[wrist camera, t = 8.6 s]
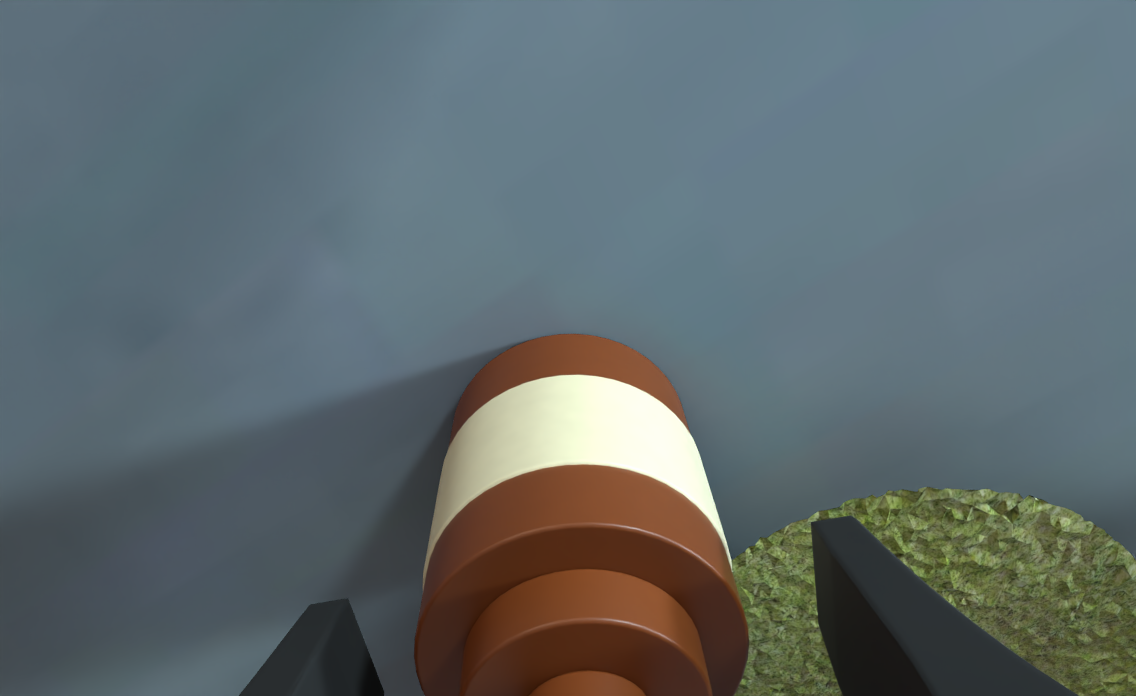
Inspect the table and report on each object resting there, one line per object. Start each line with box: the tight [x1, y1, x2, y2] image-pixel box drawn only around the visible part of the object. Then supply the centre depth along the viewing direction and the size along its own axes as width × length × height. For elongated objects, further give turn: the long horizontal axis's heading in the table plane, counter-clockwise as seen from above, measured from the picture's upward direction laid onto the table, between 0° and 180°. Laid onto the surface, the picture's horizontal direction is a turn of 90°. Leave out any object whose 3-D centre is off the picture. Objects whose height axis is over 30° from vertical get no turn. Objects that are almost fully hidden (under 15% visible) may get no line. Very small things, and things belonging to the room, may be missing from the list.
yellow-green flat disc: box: [731, 487, 1136, 696], centre depth 19 cm, size 11×11×2 cm
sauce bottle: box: [414, 334, 749, 696], centre depth 14 cm, size 5×5×9 cm
